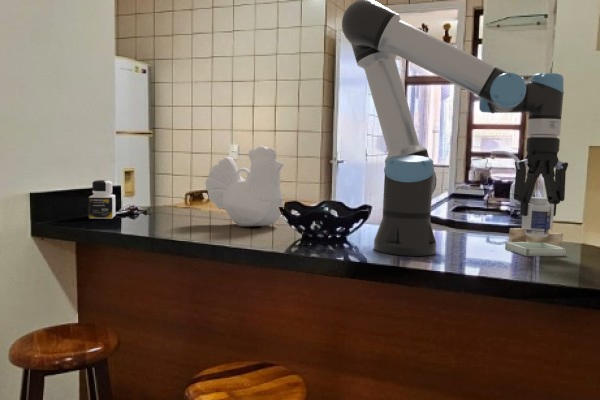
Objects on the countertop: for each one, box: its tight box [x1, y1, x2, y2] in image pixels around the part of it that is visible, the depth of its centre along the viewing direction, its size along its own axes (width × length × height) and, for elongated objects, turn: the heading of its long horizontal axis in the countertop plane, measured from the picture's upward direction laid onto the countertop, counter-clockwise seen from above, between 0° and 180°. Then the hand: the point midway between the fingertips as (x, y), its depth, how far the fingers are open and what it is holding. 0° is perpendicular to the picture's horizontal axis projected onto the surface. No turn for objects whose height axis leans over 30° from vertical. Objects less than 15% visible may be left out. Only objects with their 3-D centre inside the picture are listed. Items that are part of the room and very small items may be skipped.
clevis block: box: [508, 227, 564, 248], centre depth 145 cm, size 10×9×4 cm
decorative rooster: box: [204, 145, 285, 227], centre depth 164 cm, size 25×16×25 cm, turn 63°
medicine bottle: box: [88, 179, 116, 220], centre depth 170 cm, size 7×7×12 cm
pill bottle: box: [525, 196, 550, 237], centre depth 133 cm, size 5×5×10 cm
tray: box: [504, 241, 567, 257], centre depth 134 cm, size 11×9×2 cm
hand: (536, 228), depth 134 cm, fingers closed on pill bottle, 5 cm apart
